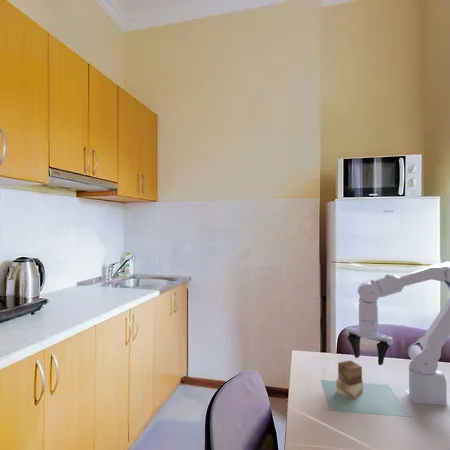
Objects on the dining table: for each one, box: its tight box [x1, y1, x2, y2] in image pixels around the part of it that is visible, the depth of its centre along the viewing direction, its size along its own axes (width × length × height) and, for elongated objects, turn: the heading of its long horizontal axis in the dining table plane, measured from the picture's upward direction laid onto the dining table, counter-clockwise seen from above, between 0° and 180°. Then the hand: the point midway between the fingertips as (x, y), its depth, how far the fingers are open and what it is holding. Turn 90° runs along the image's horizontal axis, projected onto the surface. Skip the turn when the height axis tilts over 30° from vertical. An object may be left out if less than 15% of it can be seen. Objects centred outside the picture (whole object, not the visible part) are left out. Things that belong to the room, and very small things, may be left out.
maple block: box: [335, 377, 364, 400], centre depth 100 cm, size 6×6×4 cm
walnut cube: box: [337, 359, 363, 385], centre depth 100 cm, size 5×5×5 cm
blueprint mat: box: [320, 379, 412, 418], centre depth 97 cm, size 22×18×1 cm
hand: (368, 360), depth 103 cm, fingers open, 7 cm apart
